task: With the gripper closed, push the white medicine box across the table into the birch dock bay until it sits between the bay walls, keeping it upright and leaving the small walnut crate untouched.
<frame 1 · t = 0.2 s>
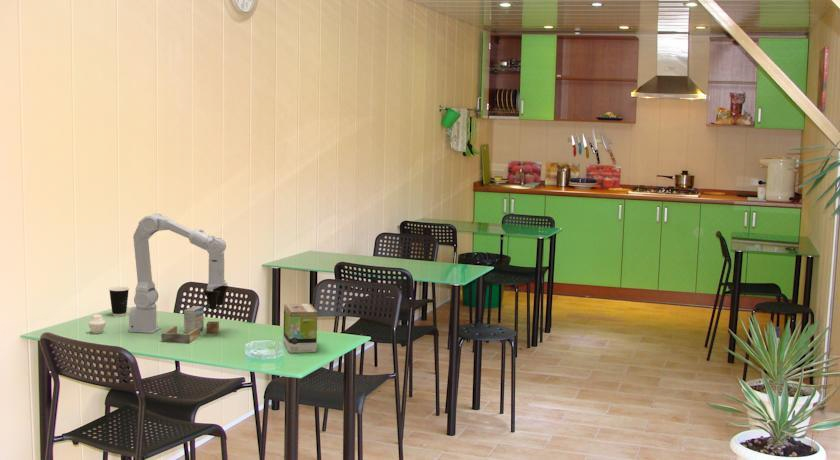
hand: (216, 307, 339), 10 cm above the table, tool pointing down, fingers open, 7 cm apart
dixie cup: (119, 315, 366), on the table
medicine box: (193, 331, 344), on the table
tea box: (299, 348, 322), on the table
walnut crate: (212, 333, 341), on the table
dock bay: (181, 338, 331), on the table
cream lidded jar: (97, 333, 336), on the table
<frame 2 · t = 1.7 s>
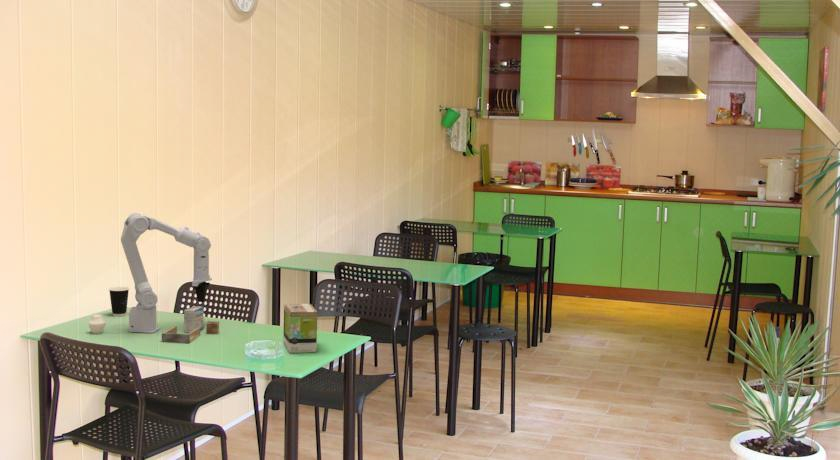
hand: (201, 301, 350), 10 cm above the table, tool pointing down, fingers closed
nothing on the table moved.
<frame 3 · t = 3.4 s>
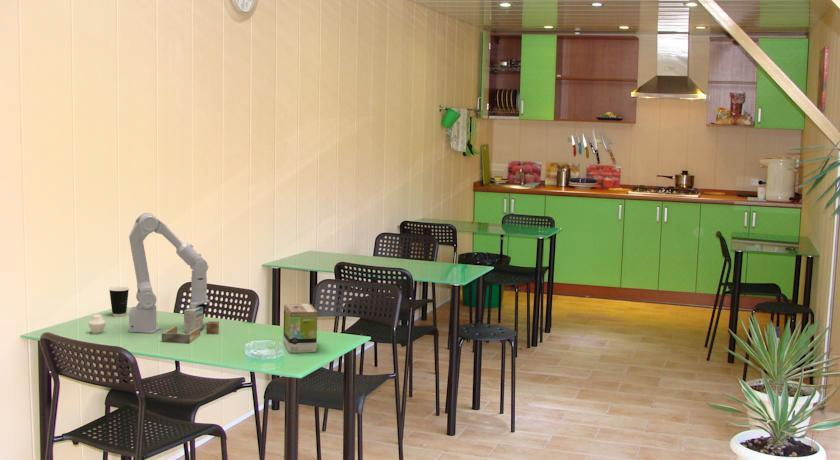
hand: (199, 323, 349), 1 cm above the table, tool pointing down, fingers closed
medicine box: (193, 331, 343), on the table, touching gripper
everything else where it was.
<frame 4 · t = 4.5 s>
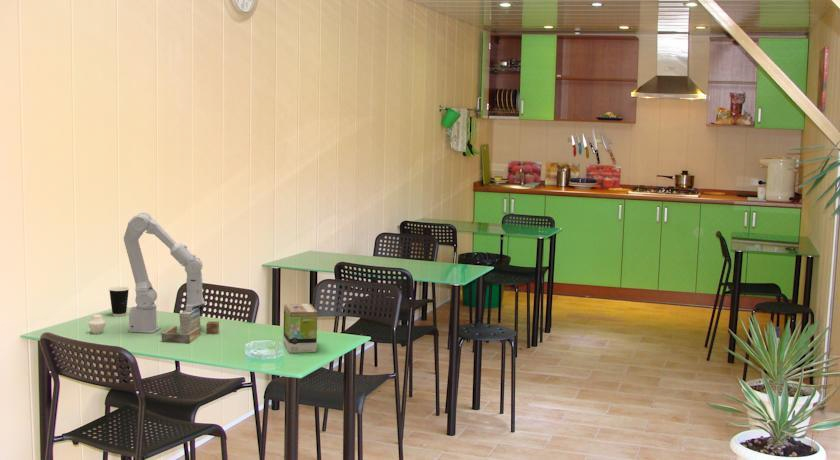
hand: (195, 325, 343), 2 cm above the table, tool pointing down, fingers closed, pressing on medicine box
medicine box: (190, 332, 339), on the table, touching gripper
everything else where it was.
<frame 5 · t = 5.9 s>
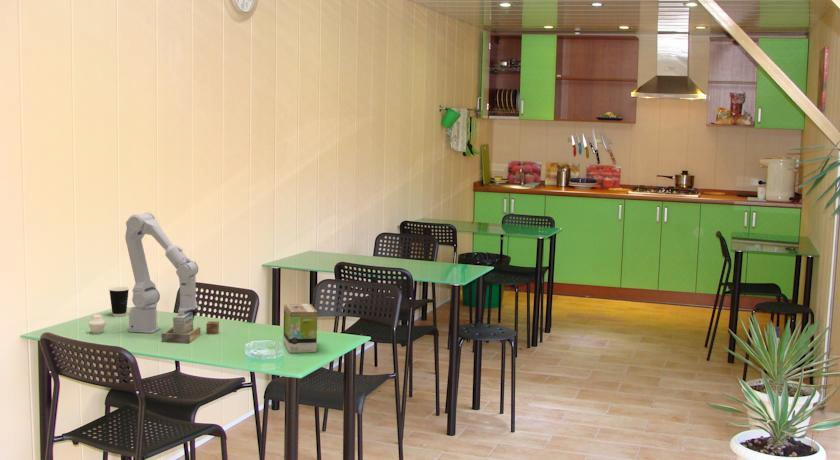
hand: (188, 330, 337), 2 cm above the table, tool pointing down, fingers closed, pressing on medicine box
medicine box: (184, 337, 332), resting in dock bay, touching gripper
everything else where it was.
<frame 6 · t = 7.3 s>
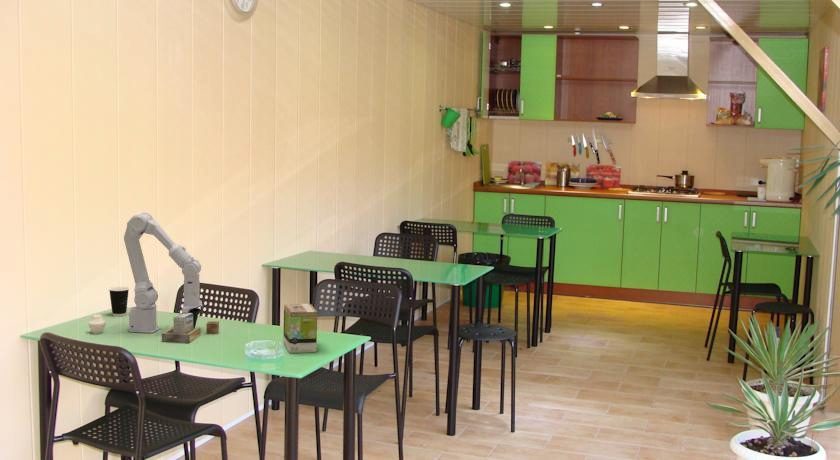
hand: (191, 328, 341), 1 cm above the table, tool pointing down, fingers closed
medicine box: (183, 338, 332), resting in dock bay
everything else where it was.
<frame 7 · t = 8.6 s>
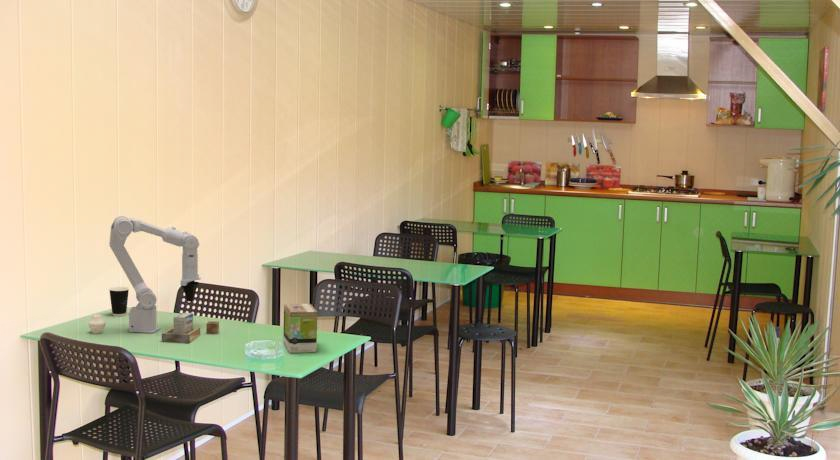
hand: (190, 301, 347), 10 cm above the table, tool pointing down, fingers closed
nothing on the table moved.
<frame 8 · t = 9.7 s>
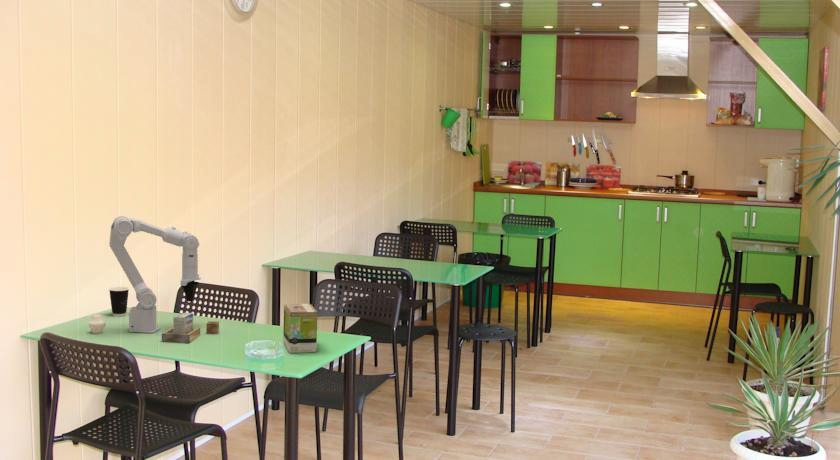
hand: (190, 301, 347), 10 cm above the table, tool pointing down, fingers closed
nothing on the table moved.
at the end: medicine box inside the target area on the dock bay (0.8 cm from its centre), point 0.0 cm above the dock bay's base; medicine box tilted 0°; walnut crate moved 0.1 cm from its start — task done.
